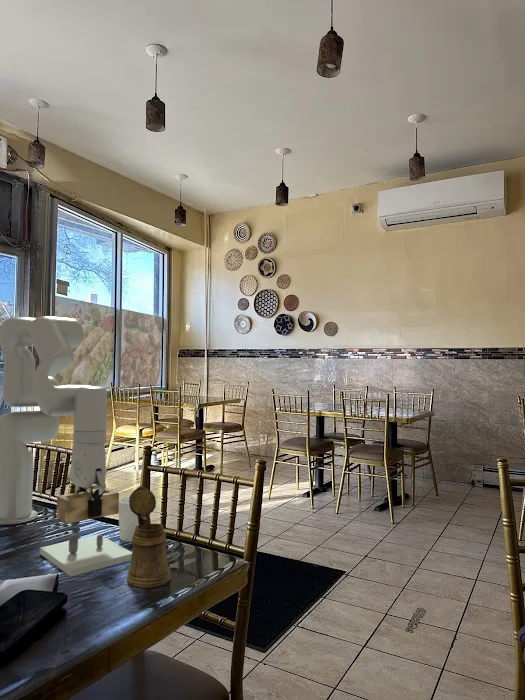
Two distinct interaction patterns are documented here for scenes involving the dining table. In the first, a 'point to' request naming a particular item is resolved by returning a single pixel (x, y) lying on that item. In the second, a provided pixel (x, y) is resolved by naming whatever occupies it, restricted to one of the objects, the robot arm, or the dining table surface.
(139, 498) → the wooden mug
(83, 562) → the post board
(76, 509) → the tan hollow block
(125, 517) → the white cup
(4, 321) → the robot arm
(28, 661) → the dining table surface
